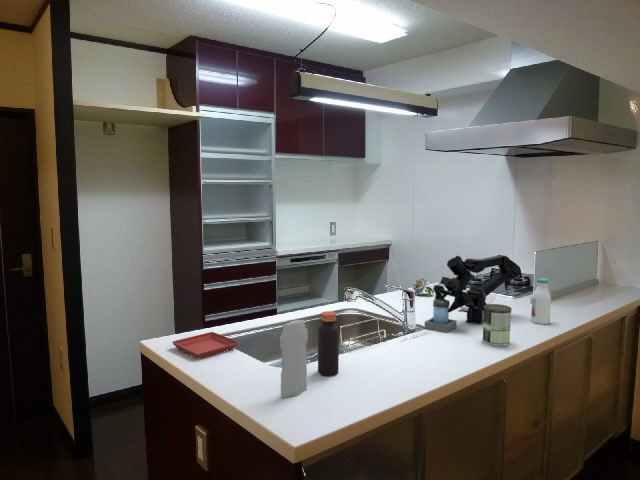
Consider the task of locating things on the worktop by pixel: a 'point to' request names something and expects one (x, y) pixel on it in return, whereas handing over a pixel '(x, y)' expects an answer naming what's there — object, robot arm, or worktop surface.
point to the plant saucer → (205, 344)
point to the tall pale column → (293, 358)
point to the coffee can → (496, 324)
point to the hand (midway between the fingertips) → (441, 309)
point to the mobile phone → (488, 300)
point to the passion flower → (422, 287)
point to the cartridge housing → (440, 325)
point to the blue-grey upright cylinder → (441, 311)
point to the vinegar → (328, 345)
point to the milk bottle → (541, 303)
